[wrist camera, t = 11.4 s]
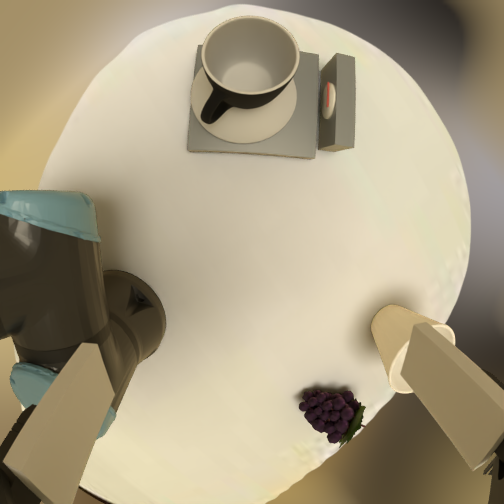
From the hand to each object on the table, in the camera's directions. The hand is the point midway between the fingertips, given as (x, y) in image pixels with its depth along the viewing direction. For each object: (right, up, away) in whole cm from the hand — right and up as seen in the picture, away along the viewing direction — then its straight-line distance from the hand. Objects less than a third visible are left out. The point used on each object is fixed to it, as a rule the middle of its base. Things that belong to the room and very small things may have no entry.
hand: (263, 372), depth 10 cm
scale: (+2, +25, +24) cm, 34 cm away
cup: (+23, -7, +34) cm, 41 cm away
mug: (-2, +24, +21) cm, 32 cm away
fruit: (+14, -24, +38) cm, 47 cm away
